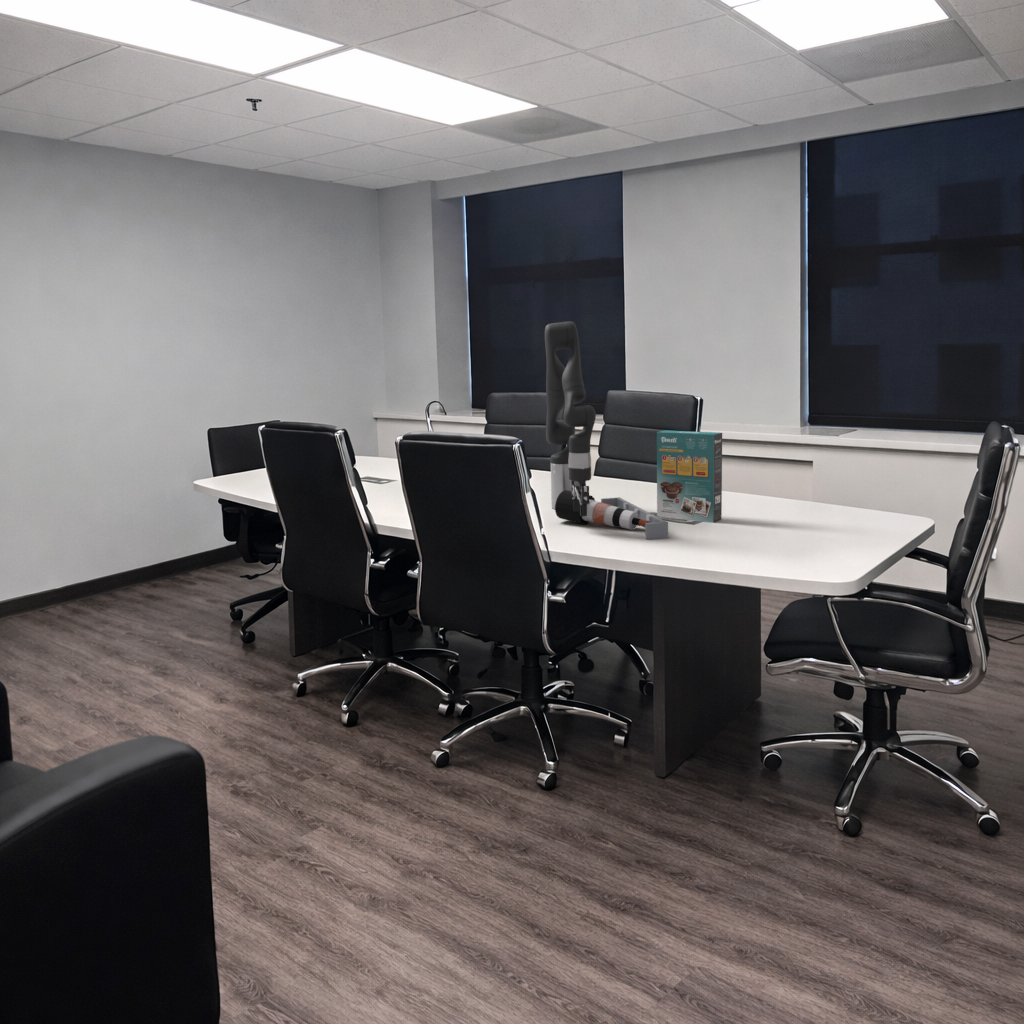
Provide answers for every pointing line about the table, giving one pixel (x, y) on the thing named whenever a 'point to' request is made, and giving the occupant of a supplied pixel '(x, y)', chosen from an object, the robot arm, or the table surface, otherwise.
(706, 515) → the cake mix box
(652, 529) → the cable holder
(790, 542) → the table surface
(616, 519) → the cable
